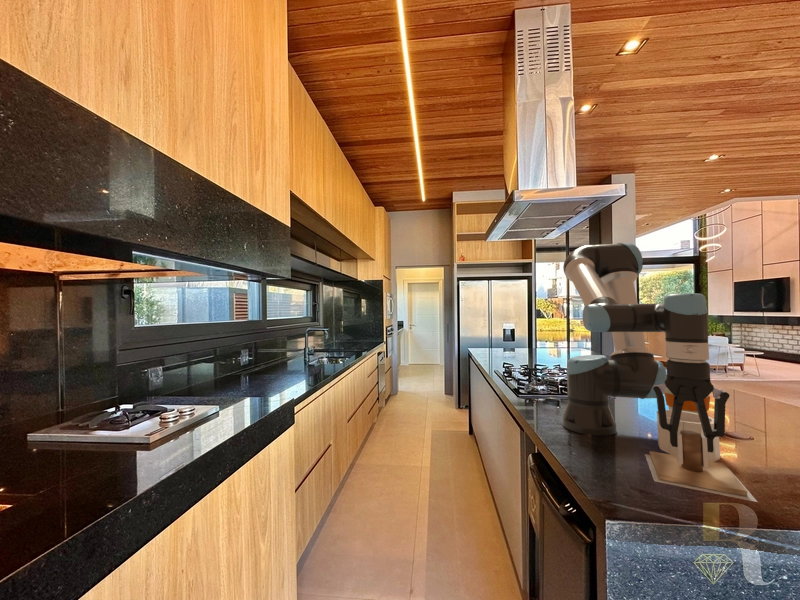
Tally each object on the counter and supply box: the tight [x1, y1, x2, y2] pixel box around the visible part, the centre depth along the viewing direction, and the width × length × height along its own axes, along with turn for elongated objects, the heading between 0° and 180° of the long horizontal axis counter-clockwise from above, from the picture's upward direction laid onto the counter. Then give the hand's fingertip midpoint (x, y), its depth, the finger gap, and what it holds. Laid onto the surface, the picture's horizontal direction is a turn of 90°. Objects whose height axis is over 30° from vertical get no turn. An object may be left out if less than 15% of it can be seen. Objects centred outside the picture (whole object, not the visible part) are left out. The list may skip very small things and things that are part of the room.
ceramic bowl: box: [656, 409, 721, 462], centre depth 87 cm, size 12×12×10 cm
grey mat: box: [644, 454, 758, 503], centre depth 74 cm, size 16×16×1 cm
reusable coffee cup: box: [663, 388, 711, 414], centre depth 113 cm, size 13×13×15 cm
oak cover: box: [649, 430, 748, 496], centre depth 75 cm, size 14×14×9 cm
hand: (691, 463), depth 75 cm, fingers closed on oak cover, 4 cm apart
